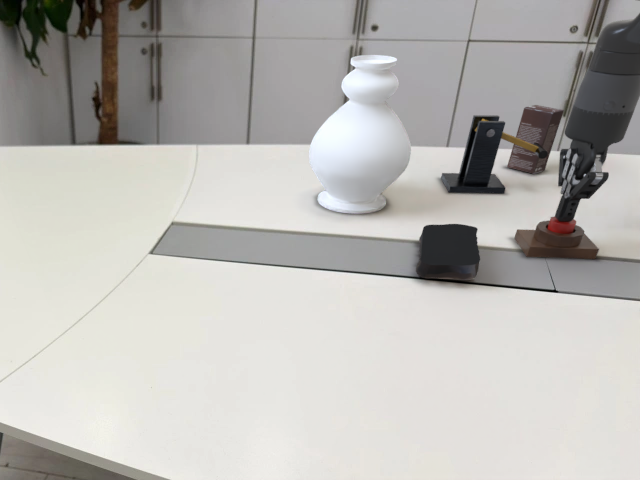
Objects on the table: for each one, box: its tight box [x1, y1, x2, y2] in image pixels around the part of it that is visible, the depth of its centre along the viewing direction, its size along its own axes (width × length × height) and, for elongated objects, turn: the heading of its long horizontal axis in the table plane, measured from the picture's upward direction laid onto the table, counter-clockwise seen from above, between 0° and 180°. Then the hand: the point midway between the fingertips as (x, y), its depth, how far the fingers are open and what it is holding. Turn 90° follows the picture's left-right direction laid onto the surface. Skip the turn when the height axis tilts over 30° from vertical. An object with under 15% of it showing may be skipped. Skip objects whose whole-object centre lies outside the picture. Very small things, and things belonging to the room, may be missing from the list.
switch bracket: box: [440, 114, 506, 195], centre depth 129 cm, size 10×8×13 cm
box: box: [507, 104, 565, 175], centre depth 136 cm, size 6×4×12 cm
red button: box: [547, 215, 577, 234], centre depth 107 cm, size 4×4×2 cm
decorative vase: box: [308, 54, 412, 215], centre depth 122 cm, size 18×18×25 cm
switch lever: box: [475, 119, 548, 159], centre depth 127 cm, size 13×5×2 cm, turn 81°
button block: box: [514, 220, 600, 260], centre depth 108 cm, size 10×7×4 cm
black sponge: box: [415, 223, 481, 281], centre depth 105 cm, size 16×8×4 cm, turn 159°
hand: (563, 219), depth 106 cm, fingers closed
